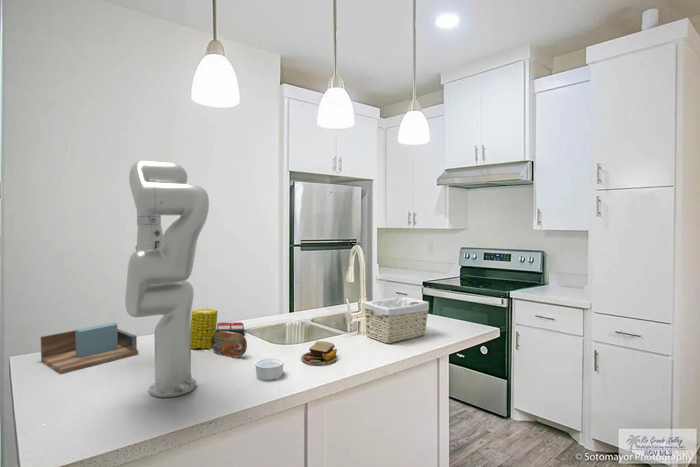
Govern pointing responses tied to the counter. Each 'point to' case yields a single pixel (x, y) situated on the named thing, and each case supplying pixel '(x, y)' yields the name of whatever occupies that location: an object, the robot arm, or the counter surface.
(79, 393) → the counter surface
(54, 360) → the shelf
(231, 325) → the red white box
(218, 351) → the tin
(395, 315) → the storage basket
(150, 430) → the counter surface
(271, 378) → the ramekin
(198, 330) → the food
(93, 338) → the book
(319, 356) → the toy sandwich meal
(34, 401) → the counter surface
